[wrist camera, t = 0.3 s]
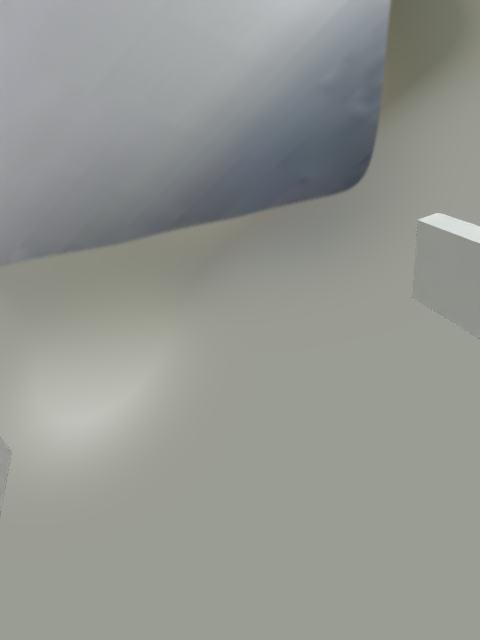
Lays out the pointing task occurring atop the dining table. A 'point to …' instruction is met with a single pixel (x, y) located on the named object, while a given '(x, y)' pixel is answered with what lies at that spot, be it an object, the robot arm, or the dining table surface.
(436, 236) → the robot arm
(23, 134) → the dining table surface
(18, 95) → the dining table surface
